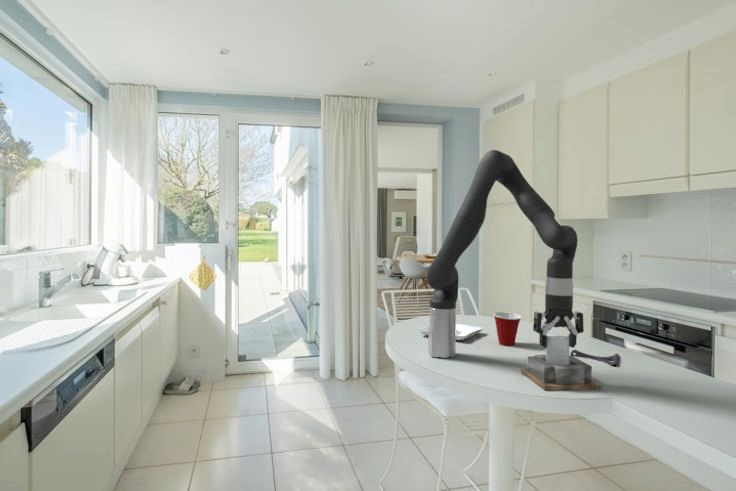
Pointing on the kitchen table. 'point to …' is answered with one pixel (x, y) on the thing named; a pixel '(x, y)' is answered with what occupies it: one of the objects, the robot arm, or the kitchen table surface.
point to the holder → (559, 374)
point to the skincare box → (557, 350)
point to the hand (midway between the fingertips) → (557, 346)
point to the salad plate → (464, 329)
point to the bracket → (603, 359)
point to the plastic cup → (506, 327)
